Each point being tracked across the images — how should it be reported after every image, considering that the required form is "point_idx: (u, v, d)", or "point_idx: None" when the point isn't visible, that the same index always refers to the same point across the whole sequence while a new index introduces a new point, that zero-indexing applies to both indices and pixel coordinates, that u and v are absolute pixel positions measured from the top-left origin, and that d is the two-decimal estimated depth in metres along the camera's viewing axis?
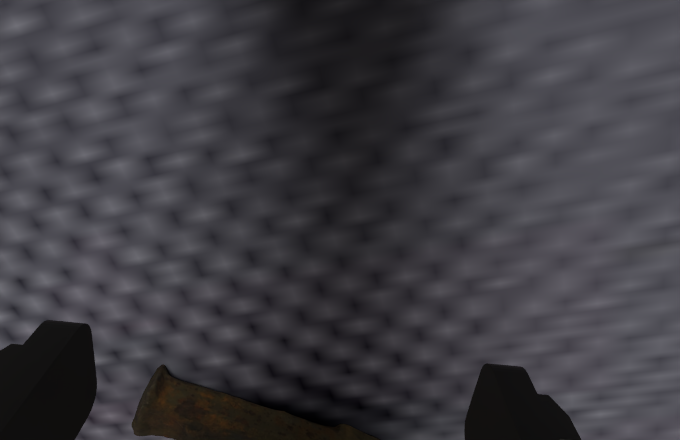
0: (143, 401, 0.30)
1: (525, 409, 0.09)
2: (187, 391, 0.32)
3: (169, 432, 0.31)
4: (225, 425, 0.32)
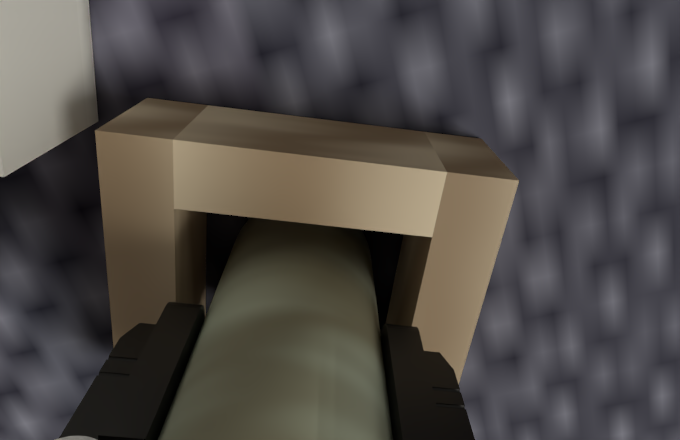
0: None
1: (407, 361, 0.10)
2: None
3: None
4: None
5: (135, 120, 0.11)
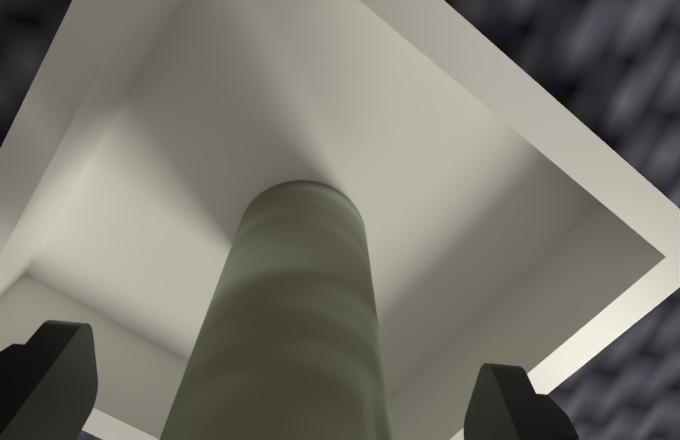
0: None
1: (524, 408, 0.09)
2: None
3: None
4: None
5: None
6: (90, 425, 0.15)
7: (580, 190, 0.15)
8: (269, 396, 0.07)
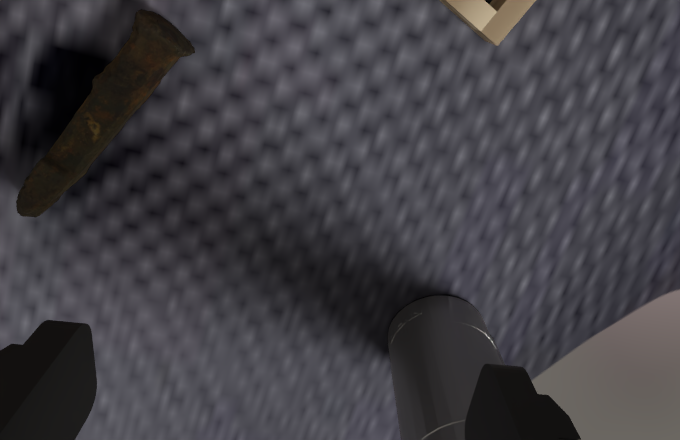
0: (180, 48, 0.33)
1: (525, 409, 0.09)
2: (167, 70, 0.35)
3: (137, 53, 0.33)
4: (133, 102, 0.35)
5: None
6: None
7: None
8: None
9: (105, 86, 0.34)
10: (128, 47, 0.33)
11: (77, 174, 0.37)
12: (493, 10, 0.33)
